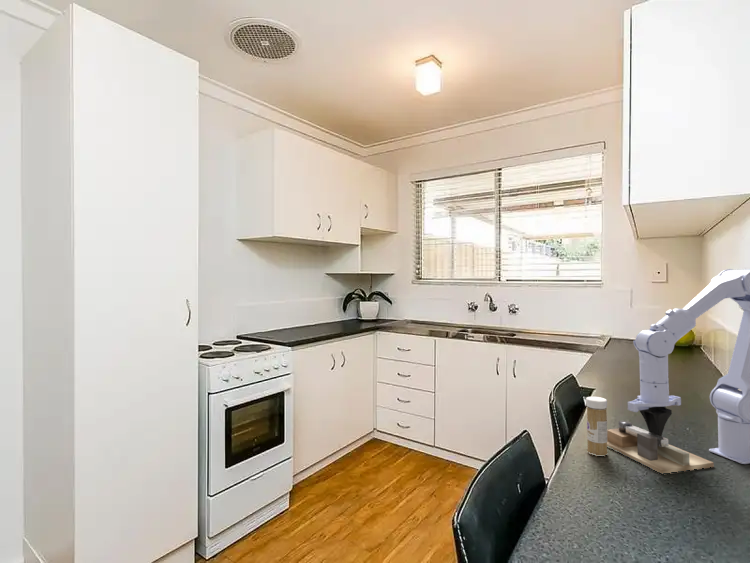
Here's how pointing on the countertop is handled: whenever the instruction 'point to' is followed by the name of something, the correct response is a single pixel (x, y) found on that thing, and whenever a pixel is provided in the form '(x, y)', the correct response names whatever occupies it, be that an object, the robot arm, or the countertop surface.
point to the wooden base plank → (654, 452)
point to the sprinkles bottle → (597, 425)
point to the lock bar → (633, 430)
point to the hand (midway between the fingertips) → (655, 438)
